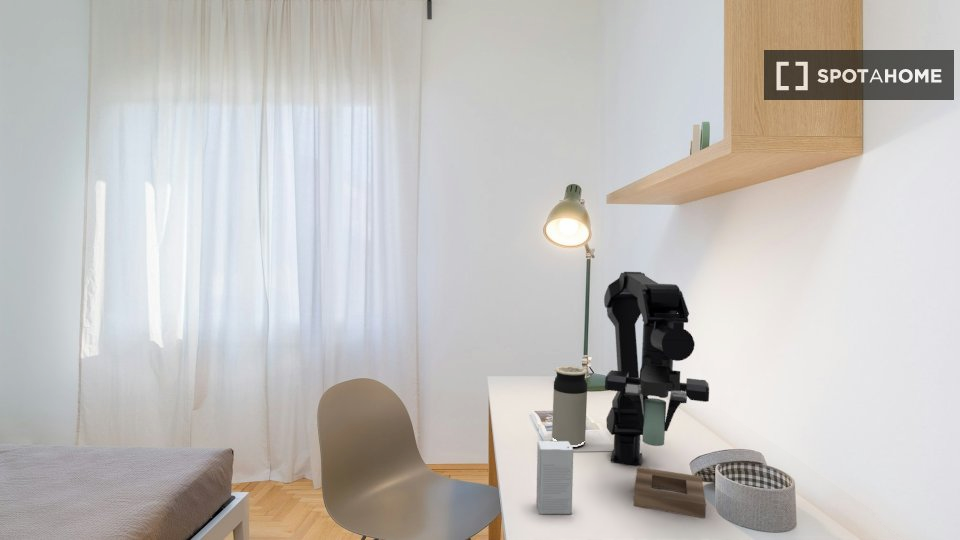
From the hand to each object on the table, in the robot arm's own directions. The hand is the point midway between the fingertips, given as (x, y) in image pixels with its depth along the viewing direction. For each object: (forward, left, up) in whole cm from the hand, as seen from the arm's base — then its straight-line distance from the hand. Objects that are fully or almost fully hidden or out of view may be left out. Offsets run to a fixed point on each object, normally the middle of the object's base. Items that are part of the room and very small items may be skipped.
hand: (654, 429), depth 106 cm
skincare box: (+13, -17, -13) cm, 25 cm away
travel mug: (-21, -20, -13) cm, 32 cm away
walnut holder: (0, +3, -13) cm, 13 cm away
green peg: (0, 0, -2) cm, 3 cm away
